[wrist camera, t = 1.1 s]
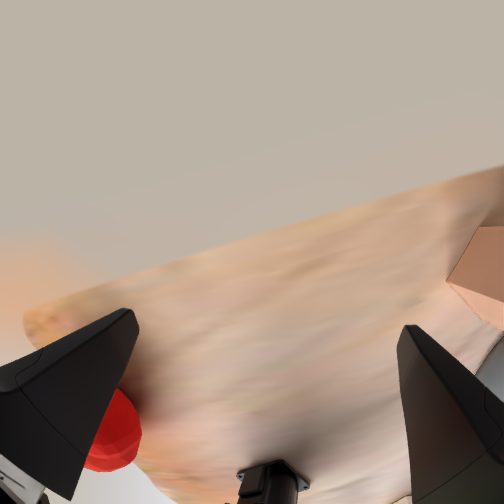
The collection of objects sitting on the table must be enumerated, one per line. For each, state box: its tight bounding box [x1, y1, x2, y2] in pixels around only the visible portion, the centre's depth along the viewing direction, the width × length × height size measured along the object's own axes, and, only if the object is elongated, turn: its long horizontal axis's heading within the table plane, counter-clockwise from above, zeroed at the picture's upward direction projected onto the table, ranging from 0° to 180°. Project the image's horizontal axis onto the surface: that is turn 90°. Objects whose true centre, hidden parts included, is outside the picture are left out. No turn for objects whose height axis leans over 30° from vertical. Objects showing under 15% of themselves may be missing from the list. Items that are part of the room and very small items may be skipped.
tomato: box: [84, 388, 142, 472], centre depth 22 cm, size 13×12×11 cm
